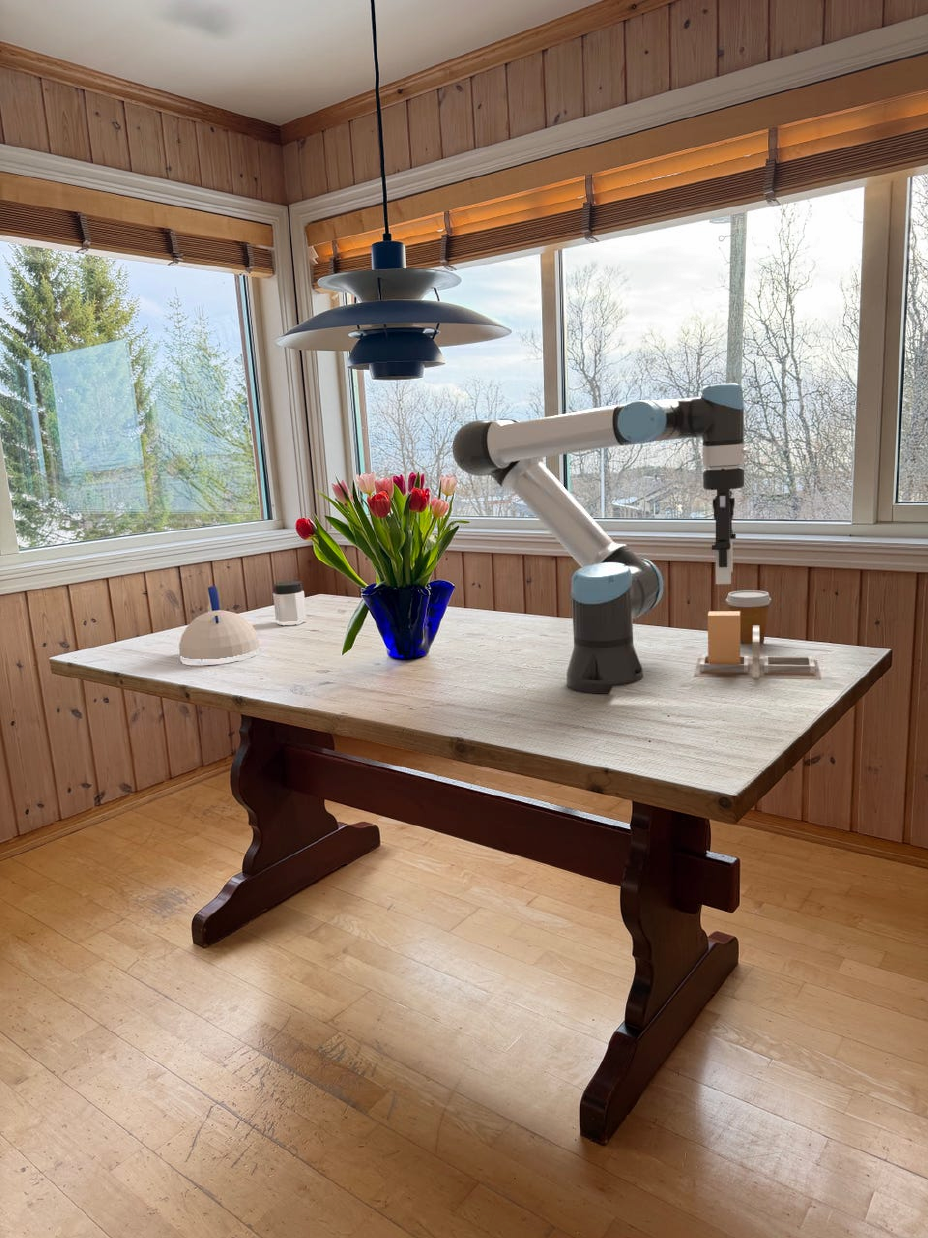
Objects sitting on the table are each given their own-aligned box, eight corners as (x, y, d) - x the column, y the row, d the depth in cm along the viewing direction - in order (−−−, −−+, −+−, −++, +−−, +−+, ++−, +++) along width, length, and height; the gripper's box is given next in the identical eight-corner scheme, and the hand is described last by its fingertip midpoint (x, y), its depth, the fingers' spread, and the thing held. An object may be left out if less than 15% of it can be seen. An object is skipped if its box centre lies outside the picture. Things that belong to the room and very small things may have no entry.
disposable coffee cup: (773, 651, 188) (774, 597, 186) (728, 652, 190) (727, 598, 188) (767, 640, 197) (768, 589, 195) (724, 641, 199) (723, 590, 197)
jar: (272, 623, 257) (268, 583, 255) (297, 619, 262) (293, 579, 259) (285, 627, 250) (280, 586, 247) (311, 622, 254) (306, 582, 252)
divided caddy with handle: (821, 686, 162) (821, 642, 160) (693, 683, 169) (693, 641, 167) (816, 666, 174) (817, 625, 173) (698, 664, 182) (697, 625, 180)
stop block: (740, 670, 170) (739, 615, 168) (708, 669, 172) (707, 615, 170) (740, 664, 174) (740, 611, 172) (709, 664, 176) (708, 611, 174)
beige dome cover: (257, 642, 234) (249, 576, 230) (265, 659, 214) (256, 587, 211) (179, 653, 228) (169, 585, 224) (179, 671, 208) (169, 597, 205)
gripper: (743, 470, 152) (743, 589, 157) (744, 463, 176) (745, 567, 180) (699, 472, 155) (701, 589, 159) (706, 465, 178) (708, 567, 182)
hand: (724, 577), depth 169 cm, fingers open, 13 cm apart
